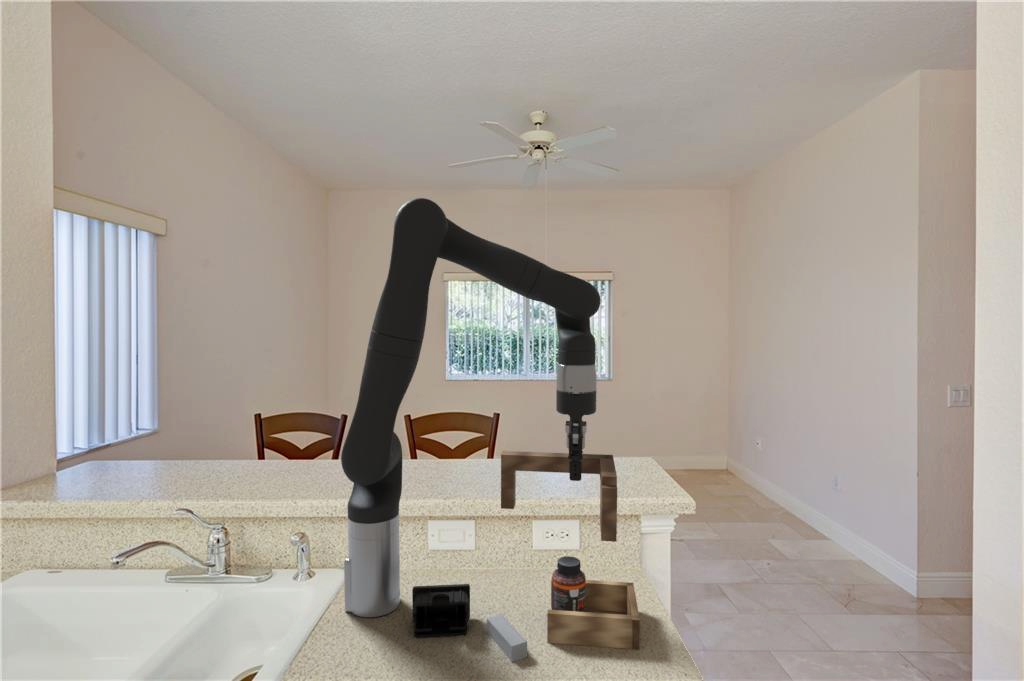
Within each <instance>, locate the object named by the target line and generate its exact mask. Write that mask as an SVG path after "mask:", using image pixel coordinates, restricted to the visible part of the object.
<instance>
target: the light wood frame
mask: <svg viewBox="0 0 1024 681" xmlns="http://www.w3.org/2000/svg"><path fill="white" fill-rule="evenodd" d="M550 582H551V583H550V584H551V587H550V589H551V590H550V607H551V606H552V604H551V603H552V578H551V580H550ZM585 585H586V594H585V610H588V611H589V610H590V611H591V610H592V611H601V612H590V611H589V612H588V611H585V612H577V611H562V610H551V609H547V615H546V616H547V622H546V624H547V625H546V626H547V627H546V629H547V632H546V633H547V634H546V635H547V636H546V637H547V638H546V640H547V641H546V642H547V643H548V644H549V643H550V644H562V645H575V646H589V647H601V648H615V649H626V650H627V649H628V650H629V649H630V650H640V643H641V642H640V640H641V639H640V638H641V637H640V635H641V633H640V632H641V630H640V629H641V627H640V626H641V617H640V613H639V607H638V601H637V597H636V590H635V584H634V582H626V581H625V582H624V581H608V580H594V579H592V580H591V579H586V584H585ZM602 611H603V613H602ZM604 611H605V612H607V611H608V612H619V613H620V612H621V613H626V614H619V613H618V614H617V613H604Z"/></svg>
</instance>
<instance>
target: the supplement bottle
mask: <svg viewBox="0 0 1024 681" xmlns="http://www.w3.org/2000/svg"><path fill="white" fill-rule="evenodd" d="M581 568H582V567H581V560H580V559H579V558H577V557H575V556H569V555H568V556H567V555H566V556H561V557H559V558H558V559H557V568H556V569H555V570H554V571H552V575H551V579H552V603H551V602H550V610H562V611H577V612H586V609H585V594H586V585H585V584H586V580H587V578H586V575H585V572H583V571H582V570H581ZM551 604H552V606H551Z"/></svg>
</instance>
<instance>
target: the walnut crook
mask: <svg viewBox="0 0 1024 681" xmlns="http://www.w3.org/2000/svg"><path fill="white" fill-rule="evenodd" d="M568 456H569V452H567V453H566V452H565V453H564V452H543V451H541V452H539V451H511V450H502V452H501V454H500V509H501V510H502V509H505V510H515V507H516V499H517V498H516V496H517V494H516V493H517V492H516V487H517V486H516V485H517V484H516V476H517V475H516V473H517V472H537V473H538V472H539V473H541V472H542V473H561V474H562V473H563V474H565V473H566V474H570V461H569V459H568ZM582 456H583V460H582V462H581V474H584V475H585V474H586V475H589V474H591V475H599V480H600V483H599V484H600V489H599V490H600V491H599V494H600V495H599V498H600V499H599V502H600V503H599V527H600V528H599V529H600V541H601V542H615V543H616V542H617V537H618V536H617V534H618V533H617V532H618V530H617V528H618V527H617V526H618V476H617V470H616V465H615V460H614V459H615V458H614V455H613V454H602V453H600V454H596V453H595V454H594V453H593V454H592V453H583V454H582Z"/></svg>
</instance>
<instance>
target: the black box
mask: <svg viewBox="0 0 1024 681" xmlns="http://www.w3.org/2000/svg"><path fill="white" fill-rule="evenodd" d="M470 586H471V585H470V583H462V584H461V583H459V584H458V583H457V584H437V585H436V584H435V585H417V586H416V585H415V586H412V590H411V591H412V594H411V595H412V596H411V597H412V609H411V611H412V626H413V630H414V631H413V637H414V639H417V640H418V639H433V638H435V639H436V638H450V637H454V638H455V637H466V636H467V635H468V632H469V631H468V630H469V629H468V628H469V627H468V624H469V622H470V619H471V587H470Z"/></svg>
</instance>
